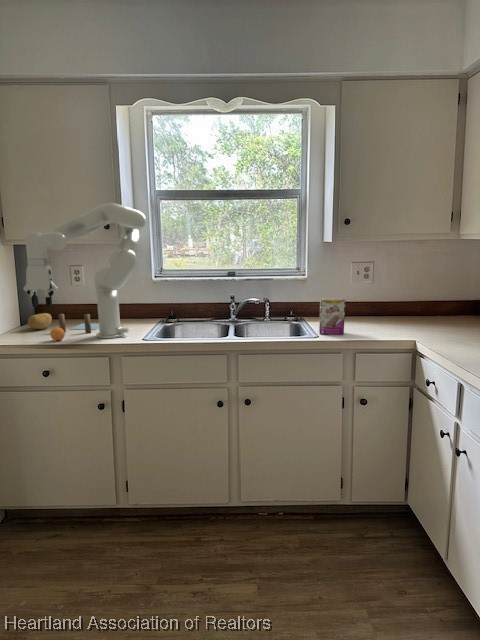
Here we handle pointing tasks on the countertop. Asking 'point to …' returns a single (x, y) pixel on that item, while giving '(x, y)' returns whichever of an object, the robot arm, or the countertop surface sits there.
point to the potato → (40, 321)
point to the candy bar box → (332, 316)
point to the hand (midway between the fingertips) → (42, 305)
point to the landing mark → (82, 326)
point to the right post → (87, 323)
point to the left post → (62, 322)
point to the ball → (57, 333)
